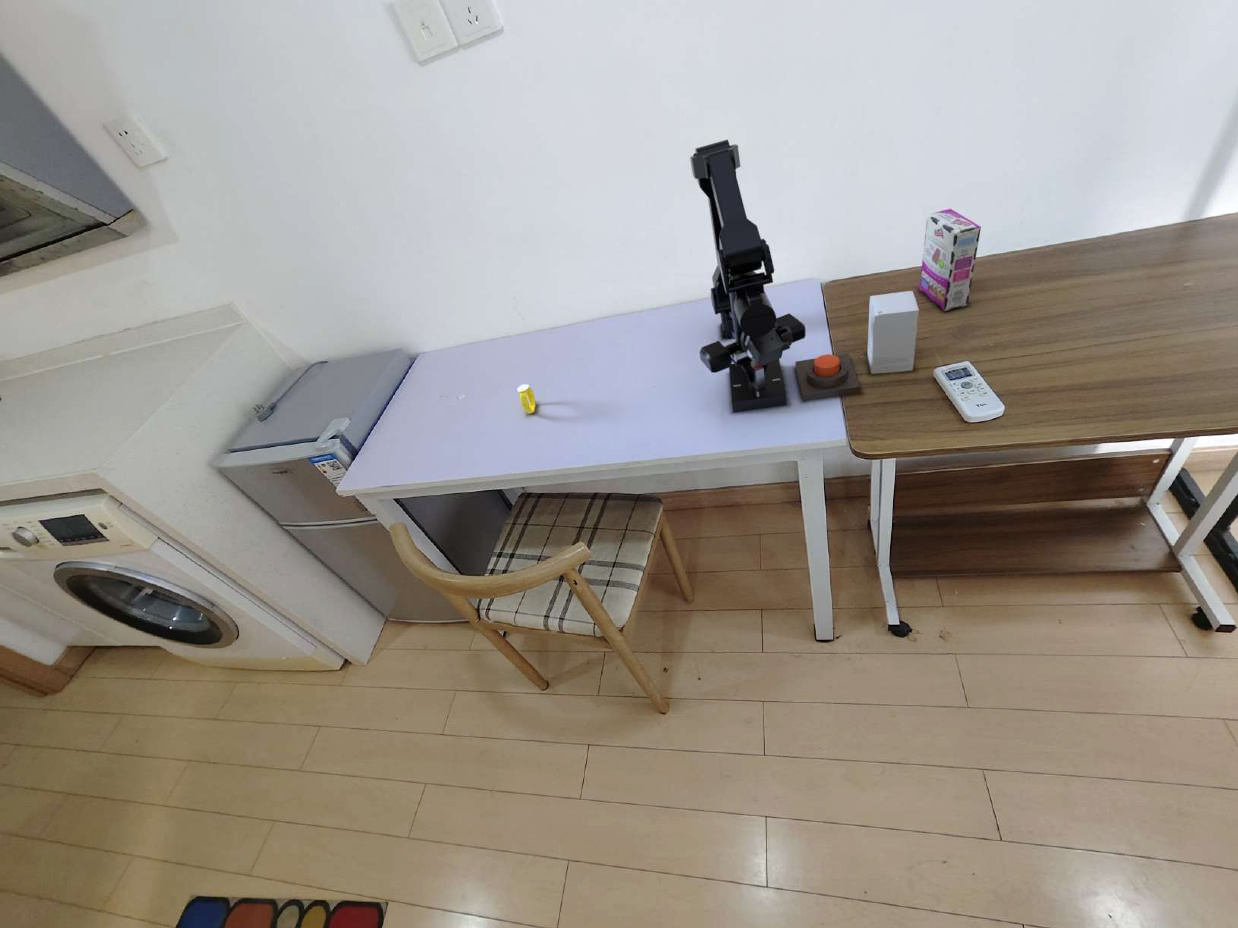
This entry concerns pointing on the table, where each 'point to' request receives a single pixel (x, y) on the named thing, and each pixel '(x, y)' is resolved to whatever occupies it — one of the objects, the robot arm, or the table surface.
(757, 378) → the burner knob
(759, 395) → the hob panel
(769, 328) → the robot arm
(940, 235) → the candy bar box
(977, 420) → the table surface
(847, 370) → the brown button base
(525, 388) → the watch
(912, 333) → the white packaging box
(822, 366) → the button
